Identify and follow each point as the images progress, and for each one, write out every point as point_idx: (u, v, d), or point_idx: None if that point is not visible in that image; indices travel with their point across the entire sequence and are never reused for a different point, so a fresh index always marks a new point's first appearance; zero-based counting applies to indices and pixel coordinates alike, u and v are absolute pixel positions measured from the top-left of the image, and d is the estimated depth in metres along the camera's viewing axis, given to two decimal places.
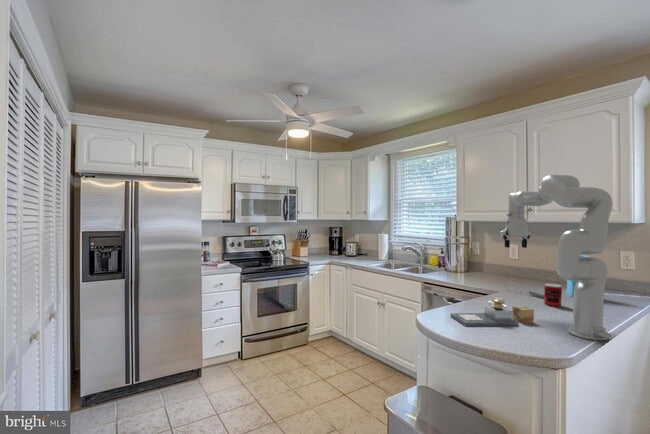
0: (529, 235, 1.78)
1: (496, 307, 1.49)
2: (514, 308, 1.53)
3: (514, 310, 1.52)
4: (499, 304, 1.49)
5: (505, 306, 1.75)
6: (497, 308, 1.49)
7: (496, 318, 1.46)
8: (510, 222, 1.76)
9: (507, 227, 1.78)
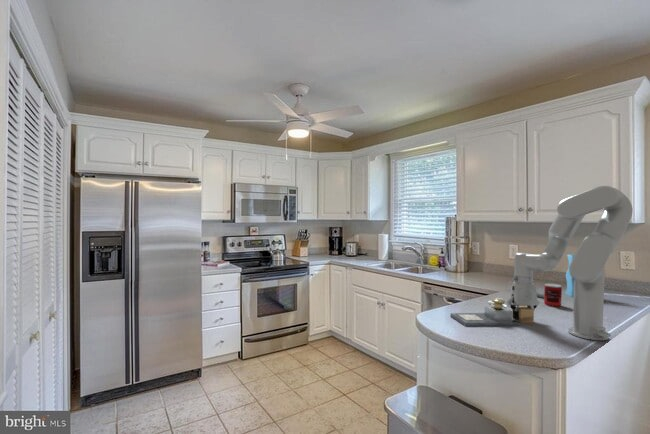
0: (535, 305, 1.51)
1: (496, 307, 1.49)
2: None
3: None
4: (499, 304, 1.49)
5: (505, 306, 1.75)
6: (497, 308, 1.49)
7: (496, 318, 1.46)
8: (516, 288, 1.49)
9: (513, 293, 1.51)
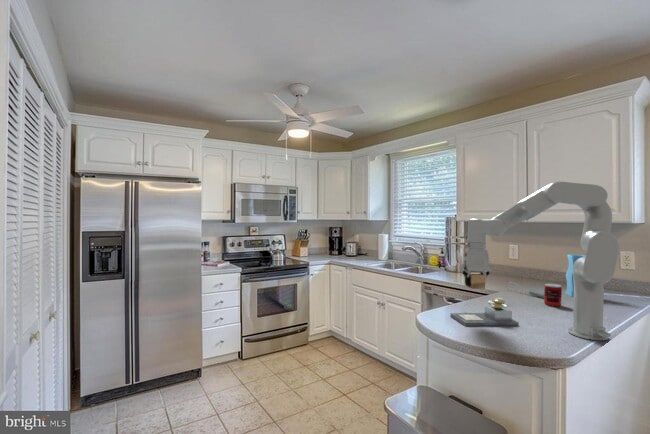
0: (488, 271, 1.49)
1: (496, 307, 1.49)
2: None
3: None
4: (499, 304, 1.49)
5: (505, 306, 1.76)
6: (497, 308, 1.49)
7: (496, 318, 1.46)
8: (468, 254, 1.47)
9: (465, 260, 1.49)
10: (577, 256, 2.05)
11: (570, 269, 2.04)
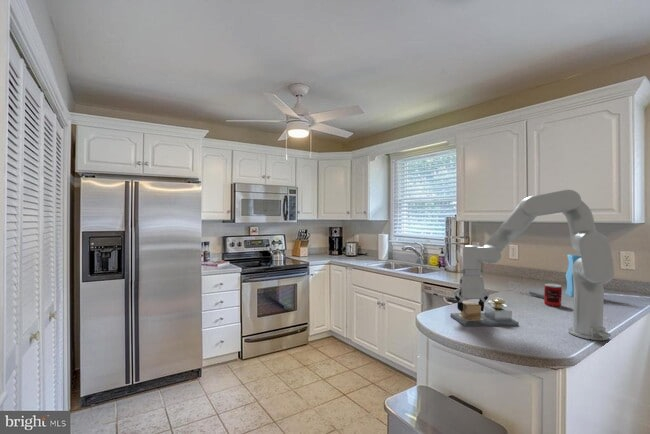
0: (487, 296, 1.49)
1: (496, 307, 1.49)
2: None
3: (463, 306, 1.50)
4: (499, 304, 1.49)
5: (505, 306, 1.76)
6: (497, 308, 1.49)
7: (496, 318, 1.46)
8: (463, 281, 1.47)
9: (460, 286, 1.49)
10: (577, 256, 2.05)
11: (570, 269, 2.04)
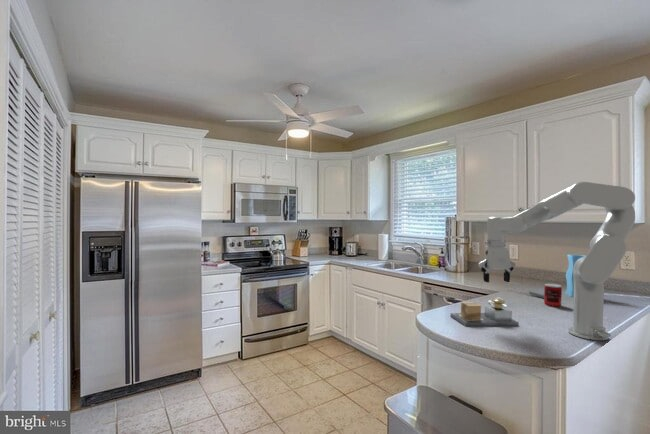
0: (512, 267, 1.50)
1: (496, 307, 1.49)
2: (462, 304, 1.51)
3: (463, 306, 1.50)
4: (499, 304, 1.49)
5: (505, 306, 1.76)
6: (497, 308, 1.49)
7: (496, 318, 1.46)
8: (489, 252, 1.48)
9: (486, 258, 1.49)
10: (577, 256, 2.05)
11: (570, 269, 2.04)
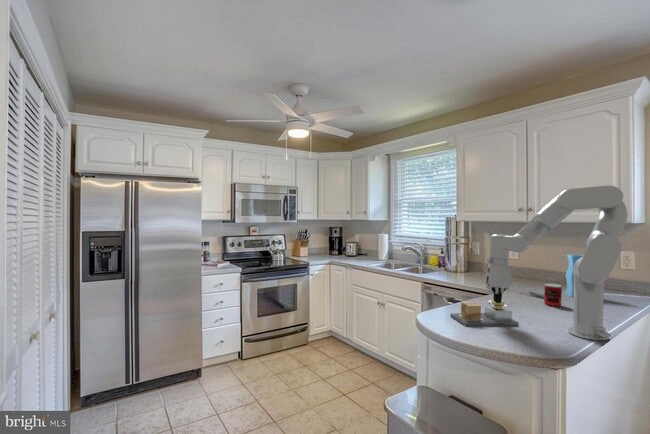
0: None
1: (496, 309, 1.49)
2: (462, 304, 1.51)
3: (463, 306, 1.50)
4: (499, 306, 1.49)
5: (505, 306, 1.76)
6: None
7: (496, 318, 1.46)
8: (491, 270, 1.48)
9: (488, 275, 1.50)
10: (577, 256, 2.05)
11: (570, 269, 2.04)
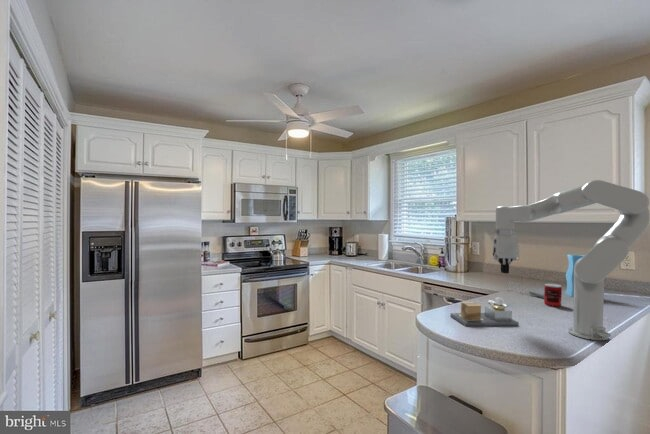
0: (511, 258, 1.51)
1: None
2: (462, 304, 1.51)
3: (463, 306, 1.50)
4: None
5: (505, 305, 1.76)
6: None
7: (496, 318, 1.46)
8: (498, 241, 1.49)
9: (494, 247, 1.51)
10: (577, 256, 2.05)
11: (570, 269, 2.04)
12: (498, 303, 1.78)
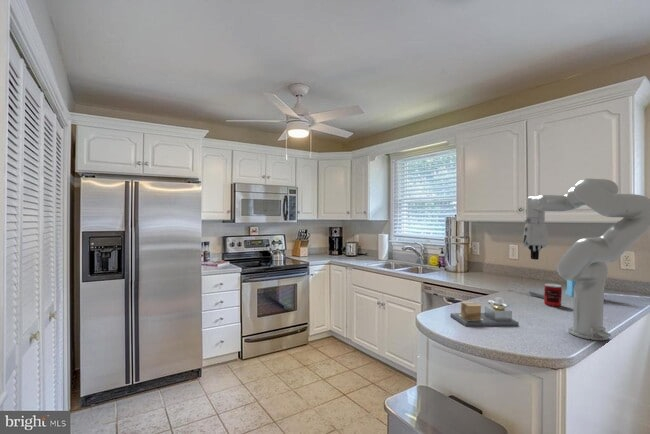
0: (541, 245, 1.61)
1: None
2: (462, 304, 1.51)
3: (463, 306, 1.50)
4: None
5: (505, 305, 1.76)
6: None
7: (496, 318, 1.46)
8: (529, 229, 1.59)
9: (525, 234, 1.61)
10: None
11: None
12: (498, 303, 1.78)
